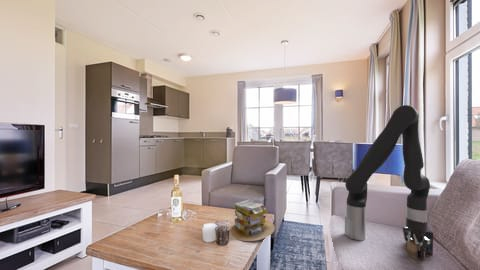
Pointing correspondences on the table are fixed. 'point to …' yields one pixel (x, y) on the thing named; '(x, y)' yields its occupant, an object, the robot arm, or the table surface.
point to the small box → (430, 236)
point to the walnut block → (413, 250)
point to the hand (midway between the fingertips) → (415, 255)
